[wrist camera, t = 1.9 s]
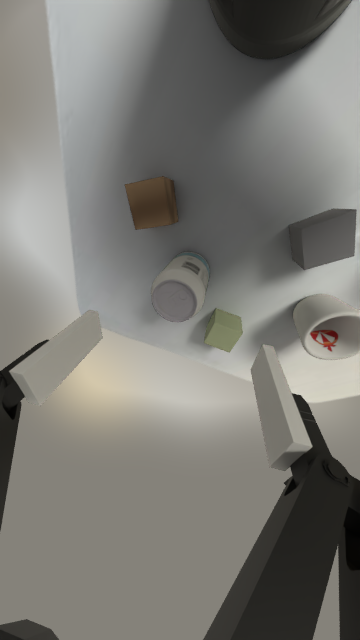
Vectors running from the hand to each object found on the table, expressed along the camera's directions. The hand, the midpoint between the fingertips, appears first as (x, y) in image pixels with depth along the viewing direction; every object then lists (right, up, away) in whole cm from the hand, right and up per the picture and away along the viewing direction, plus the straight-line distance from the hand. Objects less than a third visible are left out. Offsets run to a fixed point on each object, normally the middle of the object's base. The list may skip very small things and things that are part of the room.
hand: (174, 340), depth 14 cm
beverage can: (+2, +10, +17) cm, 20 cm away
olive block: (+9, +1, +21) cm, 23 cm away
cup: (+24, +4, +15) cm, 29 cm away
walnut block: (-3, +19, +12) cm, 23 cm away
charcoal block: (+19, +13, +10) cm, 25 cm away
